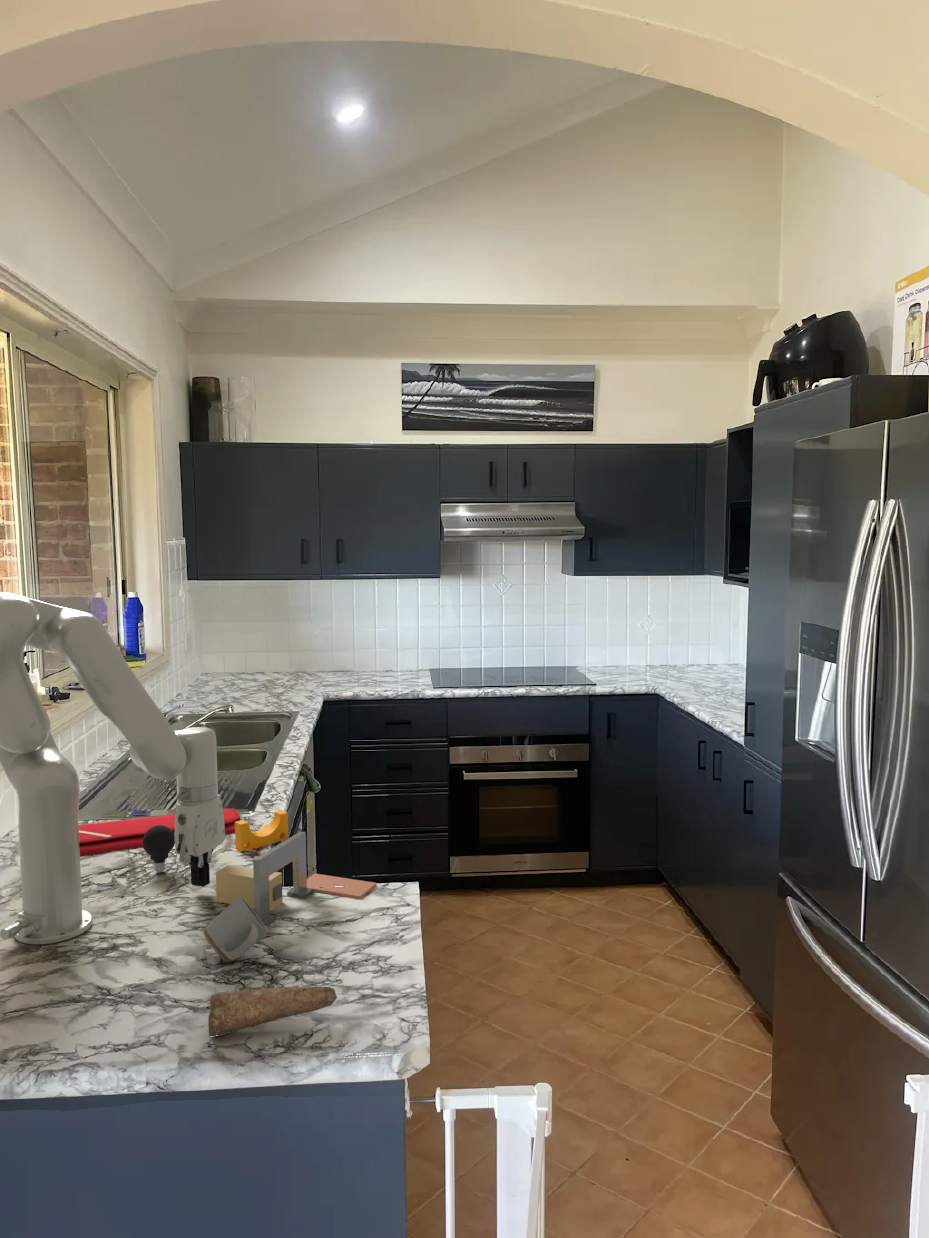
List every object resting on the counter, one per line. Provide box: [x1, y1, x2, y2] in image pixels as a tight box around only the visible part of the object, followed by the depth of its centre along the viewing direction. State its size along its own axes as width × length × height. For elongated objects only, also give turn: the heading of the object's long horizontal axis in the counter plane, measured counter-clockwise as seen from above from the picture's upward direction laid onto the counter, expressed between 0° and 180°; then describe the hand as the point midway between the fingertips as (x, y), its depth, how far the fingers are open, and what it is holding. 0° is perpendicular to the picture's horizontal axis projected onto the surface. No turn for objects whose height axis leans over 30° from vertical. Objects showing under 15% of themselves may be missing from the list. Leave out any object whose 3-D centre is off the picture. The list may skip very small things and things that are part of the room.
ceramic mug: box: [203, 896, 269, 963], centre depth 145 cm, size 11×8×8 cm
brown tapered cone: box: [207, 985, 338, 1037], centre depth 127 cm, size 6×18×6 cm, turn 110°
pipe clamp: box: [234, 810, 289, 853], centre depth 201 cm, size 12×4×6 cm, turn 134°
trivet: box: [307, 873, 377, 900], centre depth 176 cm, size 7×14×1 cm, turn 69°
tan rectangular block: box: [215, 864, 283, 912], centre depth 169 cm, size 4×12×6 cm, turn 70°
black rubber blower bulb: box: [142, 825, 175, 874], centre depth 184 cm, size 6×6×10 cm
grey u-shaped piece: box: [252, 831, 314, 927], centre depth 166 cm, size 16×4×12 cm, turn 159°
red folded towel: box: [78, 807, 242, 857], centre depth 207 cm, size 16×41×4 cm, turn 116°
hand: (200, 884), depth 173 cm, fingers closed
